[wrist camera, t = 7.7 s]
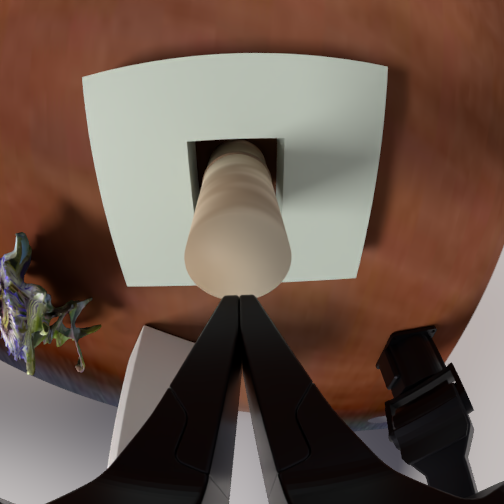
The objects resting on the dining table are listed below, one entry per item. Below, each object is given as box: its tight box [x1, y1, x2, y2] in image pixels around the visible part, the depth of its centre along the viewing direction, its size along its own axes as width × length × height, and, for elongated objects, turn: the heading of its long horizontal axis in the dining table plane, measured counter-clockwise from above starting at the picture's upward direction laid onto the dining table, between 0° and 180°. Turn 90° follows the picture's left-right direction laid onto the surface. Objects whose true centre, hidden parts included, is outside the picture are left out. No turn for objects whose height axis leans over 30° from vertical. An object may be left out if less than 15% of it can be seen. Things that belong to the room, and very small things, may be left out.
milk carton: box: [107, 325, 195, 469], centre depth 21 cm, size 7×7×19 cm
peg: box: [184, 139, 292, 299], centre depth 14 cm, size 4×4×10 cm
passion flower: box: [0, 232, 101, 375], centre depth 20 cm, size 11×11×12 cm
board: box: [82, 53, 388, 286], centre depth 17 cm, size 16×14×3 cm
